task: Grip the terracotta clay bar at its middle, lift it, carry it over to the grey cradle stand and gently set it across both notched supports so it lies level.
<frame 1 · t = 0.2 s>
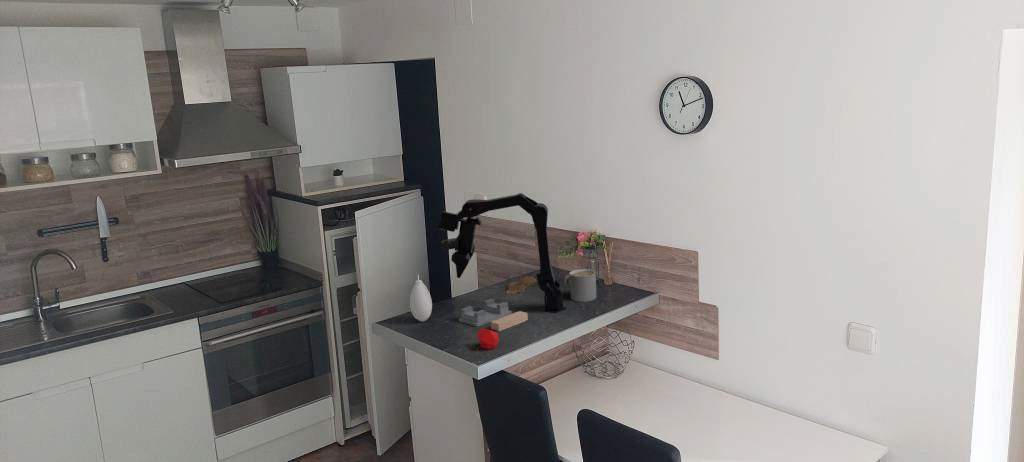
hand: (460, 274, 273), 15 cm above the worktop, tool pointing down, fingers open, 9 cm apart
grey cradle stand: (485, 317, 270), on the worktop
wooden fragment: (521, 285, 308), on the worktop
apple: (488, 347, 241), on the worktop
white air blower bulb: (422, 321, 271), on the worktop
coffee mug: (580, 297, 285), on the worktop
clay bar: (509, 325, 260), on the worktop
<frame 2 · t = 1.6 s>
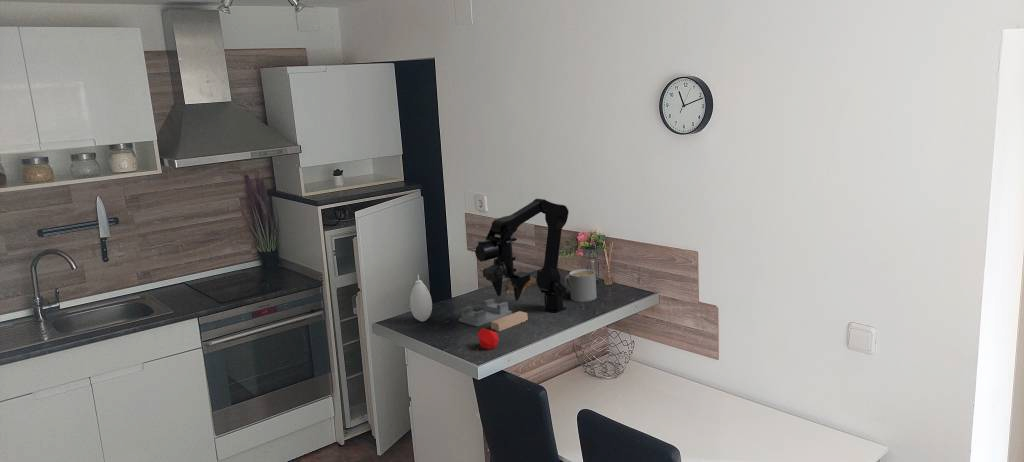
hand: (508, 298, 258), 10 cm above the worktop, tool pointing down, fingers open, 9 cm apart
nothing on the worktop moved.
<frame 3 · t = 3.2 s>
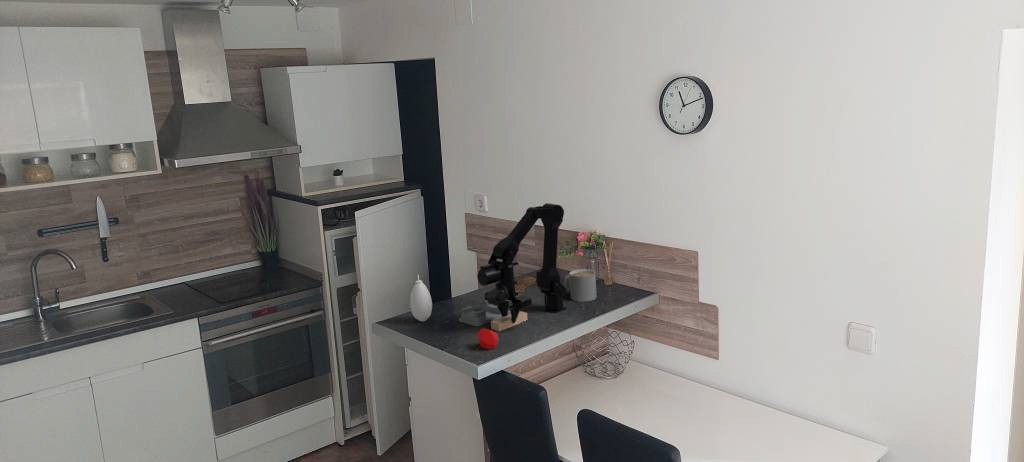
hand: (509, 321, 260), 1 cm above the worktop, tool pointing down, fingers closed on clay bar, 4 cm apart
clay bar: (509, 325, 260), on the worktop, touching gripper
everything else where it was.
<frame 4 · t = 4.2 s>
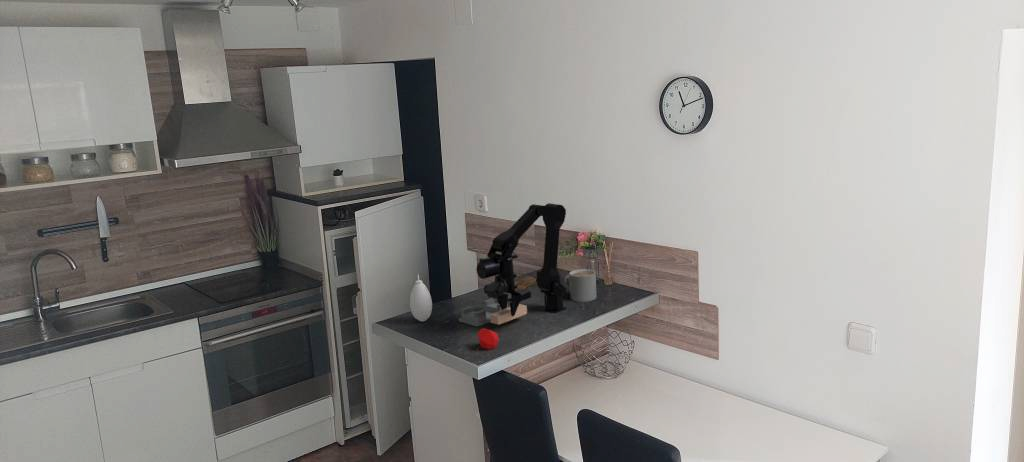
hand: (508, 314, 259), 4 cm above the worktop, tool pointing down, fingers closed on clay bar, 4 cm apart
clay bar: (509, 318, 260), point 2 cm above the worktop, touching gripper
everything else where it was.
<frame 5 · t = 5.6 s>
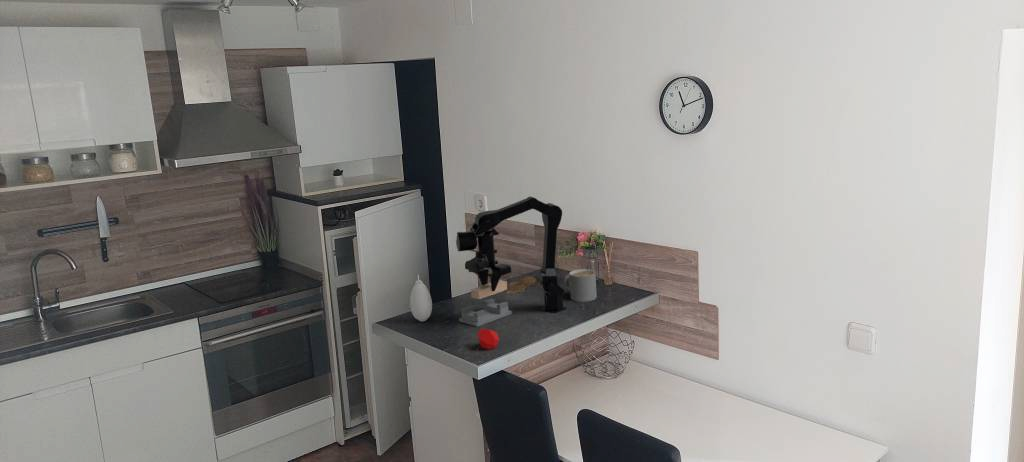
hand: (489, 290, 264), 11 cm above the worktop, tool pointing down, fingers closed on clay bar, 4 cm apart
clay bar: (489, 293, 264), point 10 cm above the worktop, touching gripper
everything else where it was.
when the fingers open (5 cm above the worktop, at t = 7.1 s): clay bar stays where it is, resting on grey cradle stand.
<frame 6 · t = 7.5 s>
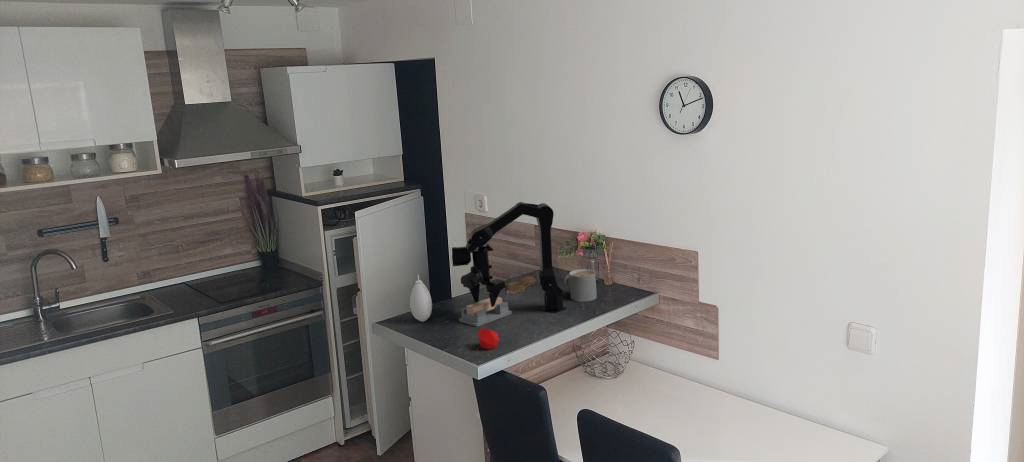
hand: (484, 304, 269), 5 cm above the worktop, tool pointing down, fingers open, 9 cm apart
clay bar: (484, 309, 269), point 3 cm above the worktop, touching grey cradle stand
everything else where it was.
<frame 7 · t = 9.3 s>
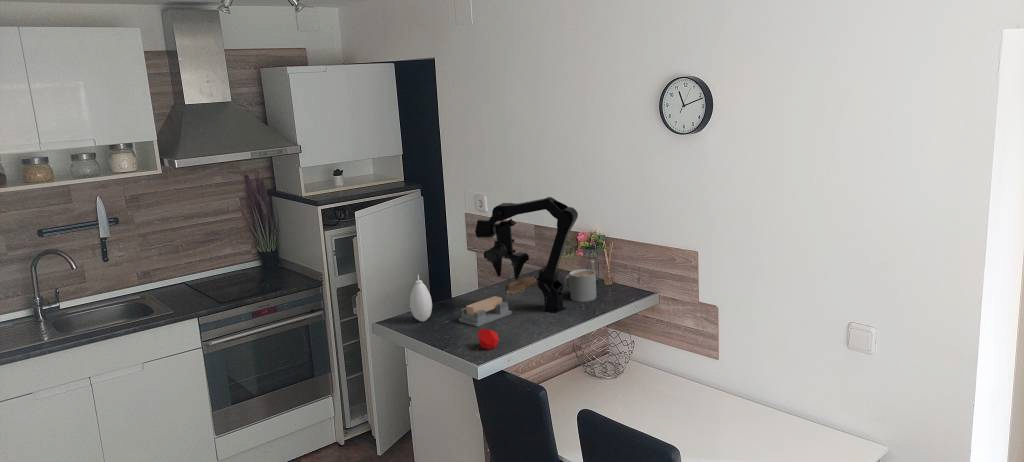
hand: (507, 277, 276), 12 cm above the worktop, tool pointing down, fingers open, 9 cm apart
nothing on the worktop moved.
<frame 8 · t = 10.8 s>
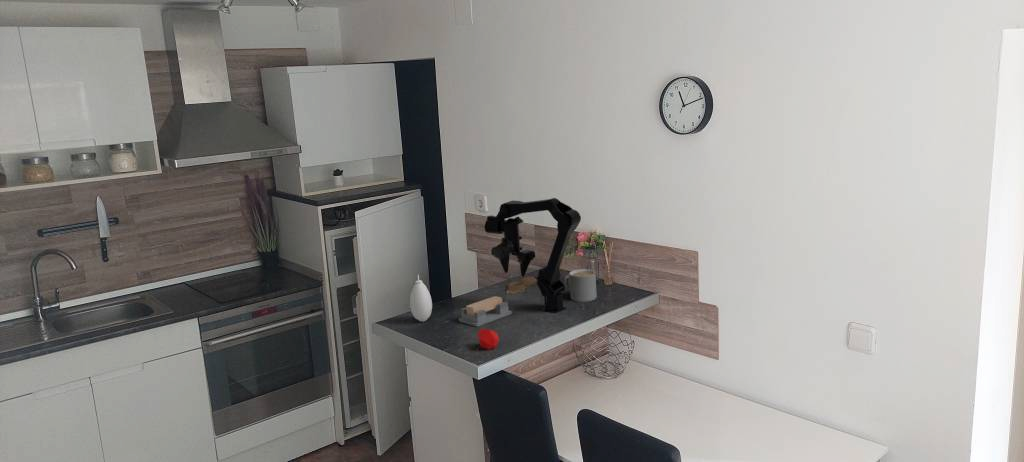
hand: (514, 274, 279), 12 cm above the worktop, tool pointing down, fingers open, 9 cm apart
nothing on the worktop moved.
at the end: clay bar 0.0 cm off-centre on the grey cradle stand, point 3.0 cm above the grey cradle stand's base; clay bar tilted 0°; the gripper is holding nothing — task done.
